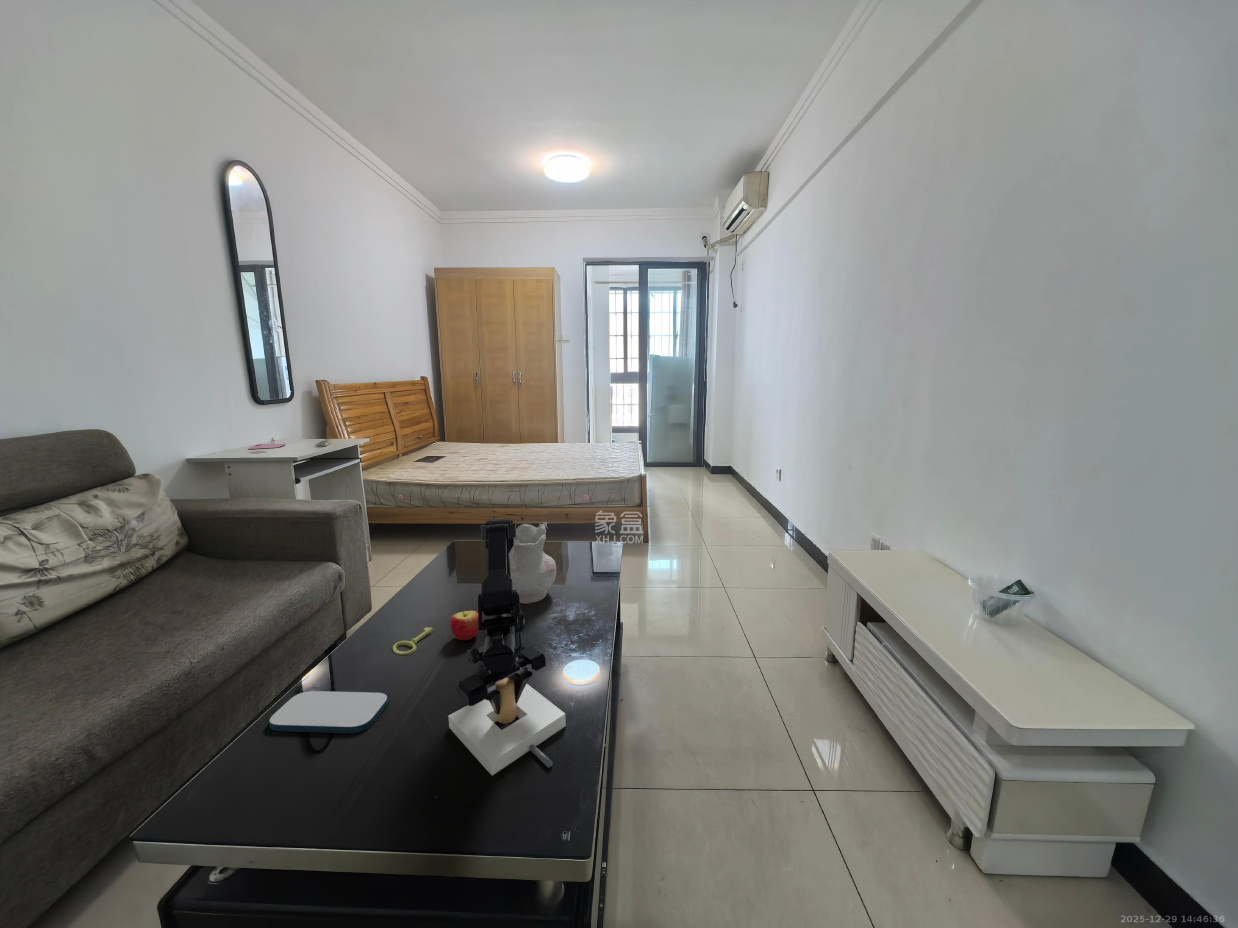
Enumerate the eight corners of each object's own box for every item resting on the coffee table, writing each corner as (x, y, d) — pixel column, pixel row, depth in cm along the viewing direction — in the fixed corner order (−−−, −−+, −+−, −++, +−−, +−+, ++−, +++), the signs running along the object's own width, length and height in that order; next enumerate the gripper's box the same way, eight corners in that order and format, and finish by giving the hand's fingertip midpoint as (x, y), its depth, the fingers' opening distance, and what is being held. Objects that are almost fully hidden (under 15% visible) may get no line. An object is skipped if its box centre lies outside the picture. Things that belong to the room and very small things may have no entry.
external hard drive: (394, 699, 113) (393, 692, 113) (366, 736, 102) (364, 727, 101) (300, 697, 115) (299, 689, 114) (262, 732, 103) (260, 724, 103)
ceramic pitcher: (549, 615, 152) (551, 542, 147) (489, 611, 152) (489, 538, 148) (559, 586, 173) (561, 521, 169) (506, 582, 174) (507, 517, 169)
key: (434, 632, 142) (434, 626, 142) (410, 657, 130) (409, 650, 130) (412, 631, 143) (412, 624, 143) (387, 655, 131) (386, 648, 131)
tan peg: (509, 707, 105) (507, 675, 104) (519, 716, 103) (517, 683, 101) (493, 716, 103) (491, 684, 101) (503, 726, 100) (501, 692, 98)
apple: (445, 641, 137) (442, 609, 135) (467, 627, 144) (464, 596, 142) (466, 648, 133) (463, 615, 131) (487, 633, 140) (484, 602, 138)
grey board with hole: (519, 688, 116) (519, 677, 115) (585, 741, 98) (584, 728, 98) (449, 727, 103) (448, 715, 103) (510, 796, 86) (509, 782, 85)
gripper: (517, 613, 111) (521, 672, 114) (441, 646, 98) (448, 712, 101) (546, 630, 103) (549, 693, 106) (466, 669, 91) (473, 739, 94)
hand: (506, 708), depth 102 cm, fingers closed on tan peg, 4 cm apart
